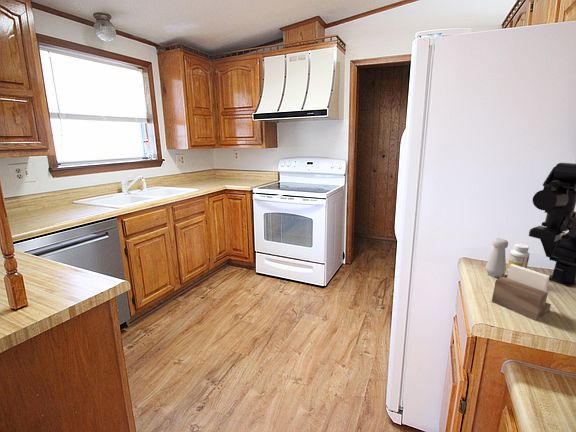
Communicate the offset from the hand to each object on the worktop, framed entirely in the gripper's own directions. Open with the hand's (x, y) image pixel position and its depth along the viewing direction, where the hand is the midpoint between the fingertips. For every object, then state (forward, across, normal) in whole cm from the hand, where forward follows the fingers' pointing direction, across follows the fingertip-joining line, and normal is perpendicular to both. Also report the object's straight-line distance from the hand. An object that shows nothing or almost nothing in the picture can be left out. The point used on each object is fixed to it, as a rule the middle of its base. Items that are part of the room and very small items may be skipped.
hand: (548, 256), depth 95 cm
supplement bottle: (+11, +8, +10) cm, 17 cm away
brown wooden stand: (+12, -16, -1) cm, 20 cm away
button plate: (+8, -14, -1) cm, 17 cm away
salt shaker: (+11, -2, +13) cm, 17 cm away
